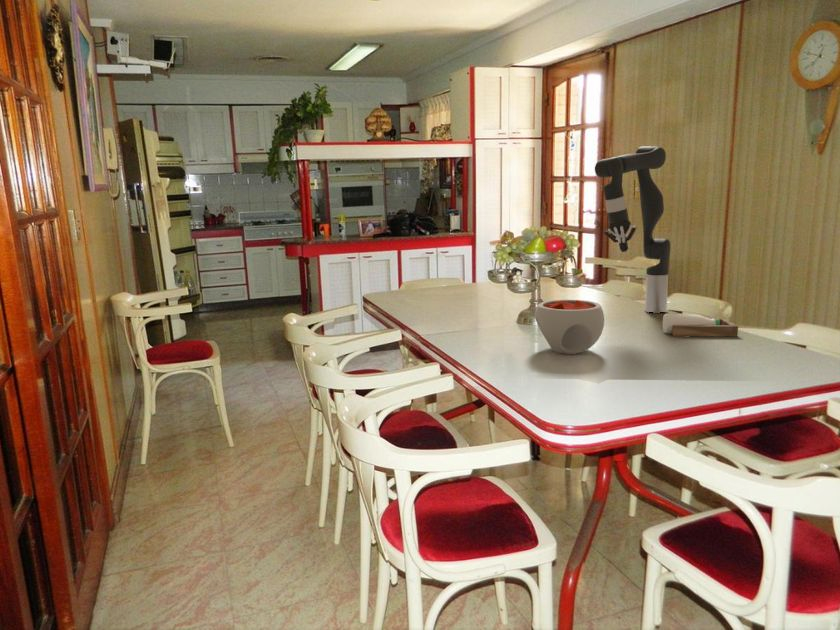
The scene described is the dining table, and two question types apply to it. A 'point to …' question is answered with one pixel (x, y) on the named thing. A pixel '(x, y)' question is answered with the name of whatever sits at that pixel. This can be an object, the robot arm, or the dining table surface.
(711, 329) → the walnut U-rest
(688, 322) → the milk bottle
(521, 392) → the dining table surface
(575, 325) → the pot
